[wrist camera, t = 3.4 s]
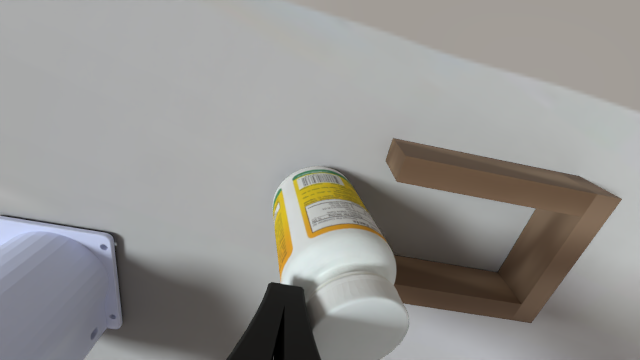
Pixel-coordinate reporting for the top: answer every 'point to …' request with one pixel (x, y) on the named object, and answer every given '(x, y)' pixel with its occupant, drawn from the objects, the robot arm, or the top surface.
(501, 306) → the u rest
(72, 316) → the robot arm
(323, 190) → the supplement bottle
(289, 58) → the top surface
